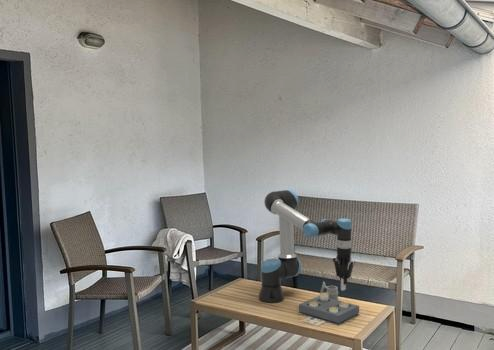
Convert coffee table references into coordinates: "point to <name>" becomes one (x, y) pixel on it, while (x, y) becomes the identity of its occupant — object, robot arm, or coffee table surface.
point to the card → (314, 321)
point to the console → (323, 310)
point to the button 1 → (313, 304)
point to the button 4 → (343, 304)
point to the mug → (330, 291)
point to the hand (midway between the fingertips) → (343, 289)
